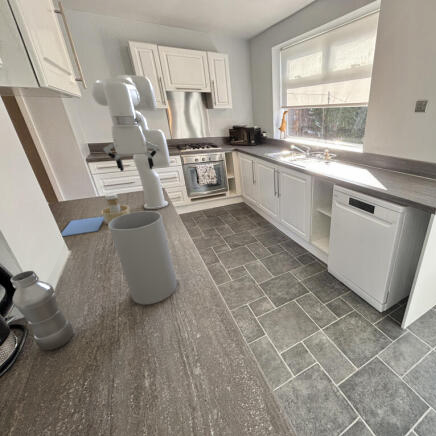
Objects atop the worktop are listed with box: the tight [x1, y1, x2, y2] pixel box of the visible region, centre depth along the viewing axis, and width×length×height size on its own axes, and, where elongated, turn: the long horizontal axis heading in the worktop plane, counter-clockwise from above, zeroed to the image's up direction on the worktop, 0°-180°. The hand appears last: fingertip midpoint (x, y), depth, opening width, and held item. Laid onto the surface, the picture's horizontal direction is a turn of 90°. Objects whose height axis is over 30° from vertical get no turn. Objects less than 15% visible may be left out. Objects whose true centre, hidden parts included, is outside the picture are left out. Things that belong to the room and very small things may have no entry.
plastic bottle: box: [10, 270, 74, 351], centre depth 55 cm, size 6×7×20 cm
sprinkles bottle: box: [104, 192, 122, 214], centre depth 120 cm, size 5×5×14 cm
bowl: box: [100, 204, 132, 225], centre depth 121 cm, size 12×12×6 cm
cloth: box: [60, 216, 104, 237], centre depth 116 cm, size 18×14×1 cm
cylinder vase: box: [107, 210, 178, 305], centre depth 70 cm, size 12×12×25 cm
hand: (137, 169), depth 92 cm, fingers open, 9 cm apart
